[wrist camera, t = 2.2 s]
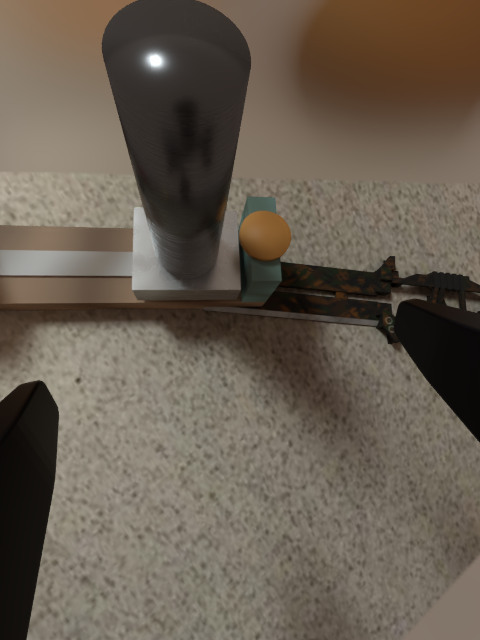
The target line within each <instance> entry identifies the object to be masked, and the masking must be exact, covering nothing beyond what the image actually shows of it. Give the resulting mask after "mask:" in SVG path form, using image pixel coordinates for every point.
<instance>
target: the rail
mask: <svg viewBox="0 0 480 640" xmlns="http://www.w3.org/2000/svg"><path fill="white" fill-rule="evenodd" d="M238 242H239V262H240V281H241V291H240V293H239V295H238V297H237V300H137V298H136V296H135V295H134V293H133V291H132V264H133V229H125V228H86V227H47V226H7V225H0V310H82V309H187V308H204V307H244V306H263V305H264V303H265V302H266V301H267V299H268V298H269V297H270V296H271V294H272V293H273V292H274V290H275V289H276V288H277V287H278V285H279V284H280V283H281V281H282V276H281V264H280V257H281V256H282V255H283V254H284V253H285V252H286V250H287V249H288V247H289V245H290V242H291V232H290V228H289V226H288V224H287V223H286V221H285V220H284V219H283V218H282V217H280V216H279V215H277V214H276V202H275V198H272V197H248V196H247V200H246V204H245V207H244V211H243V215H242V218H241V222H240V226H239V230H238Z"/></svg>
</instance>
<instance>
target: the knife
mask: <svg viewBox="0 0 480 640" xmlns="http://www.w3.org/2000/svg"><path fill="white" fill-rule="evenodd" d="M383 262H384V264H383V265H382V266H381V267H380V268H379V269H378V270H377V271H375V272H374V273H373V272H365V271H356V270H347V269H338V268H330V267H321V266H312V265H303V264H295V263H286V262H280V264H281V276H282V281H281V283H280V284H279V285H278V286H281V287H291V288H300V289H310V290H319V291H329V292H335V297H336V298H335V297H325V296H315V295H306V294H296V293H286V292H276V291H274V292H273V293H272V294H271V296H270V297H269V298H268V299H267V301H266V302H265V303H264V305H263V306H244V307H204V308H202V309H204V310H208V311H218V312H229V313H240V314H251V315H262V316H273V317H284V318H294V319H305V320H316V321H327V322H338V323H349V324H360V325H370V326H376V328H378V329H384V330H385V332H386V333H387V340H388V344H392V343H397V342H400V341H399V340H398V338H397V337H396V335H395V333H394V328H393V327H394V322H395V318H396V317H394V315H392V306H391V304H388V303H378V302H374V301H364V300H355V299H347V293H348V294H358V295H367V296H378V295H387V294H389V293H391V288H390V285H392V287H399V286H401V285H403V284H404V285H413V286H422V287H431V288H432V294H431V298H430V296H427V301H429V302H433V303H438V304H442V305H446V303H445V301H444V299H443V296H444V291H445V290H448V291H449V290H452V291H457V290H458V295H459V304H460V309H462V310H466V301H465V292H464V291H467V292H476V293H480V285H478V284H476V283H474V282H472V281H470V280H469V277H468V276H463V275H460V274H459V275H456V274H450V273H445V274H444V273H443V272H440V273H437V272H435V271H434V272H432V273H430V274H428V275H422V274H415V275H412V276H409V277H407V278H399V274H398V271H394V270H396V269H395V256H390V257H388V258H387V260H386V261H383ZM438 288H439V292H438ZM437 293H438V297H437ZM436 298H437V302H436ZM446 306H447V305H446ZM477 313H479V314H480V311H478V312H477Z"/></svg>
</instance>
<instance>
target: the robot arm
mask: <svg viewBox="0 0 480 640" xmlns="http://www.w3.org/2000/svg"><path fill="white" fill-rule="evenodd" d="M393 328H394V333H395V335H396V337H397V338H398V340H399V341H400V342H401V344H402V345H403V347H404V348H405V350H406V351H407V353H408V354H409V355H410V357H411V358H412V360H413V361H414V363H415V364H416V366H417V367H418V369H419V370H420V371H421V373H422V374H423V376H424V377H425V378H426V380H427V381H428V382H429V383H430V384H431V386H432V387H433V388H434V389H435V390H436V392H437V393H438V394H439V395H440V396H441V398H442V399H443V400H444V401H445V402H446V403H447V405H448V406H449V407H450V408H451V409H452V410H453V412H454V413H455V414H456V415H457V416H458V418H459V419H460V420H461V421H462V422H463V423H464V425H465V426H466V427H467V428H468V429H469V431H470V432H471V433H472V434H473V435H474V436H475V438H476V439H477V440H478V441H479V442H480V314H479V313H475V312H471V311H467V310H462V309H458V308H454V307H450V306H446V305H442V304H438V303H433V302H429V301H425V300H421V299H409V300H405V301H402V302H401V303H400V304H399V305H398V309H397V313H396V318H395V322H394V327H393ZM58 423H59V411H58V407H57V404H56V403H55V401H54V399H53V397H52V395H51V393H50V392H49V390H48V388H47V386H46V385H45V383H44V382H43V381H40V380H37V381H33V382H28V383H24V384H21V385H19V386H18V387H17V388H15V389H14V390H13V391H12V392H11V393H10V394H9V395H8V396H6V397H5V398H4V399H3V400H2V401H1V402H0V640H26V639H27V633H28V628H29V622H30V617H31V611H32V606H33V600H34V595H35V589H36V584H37V578H38V572H39V567H40V561H41V556H42V550H43V545H44V539H45V534H46V528H47V523H48V517H49V512H50V506H51V501H52V495H53V489H54V483H55V473H56V458H57V441H58Z"/></svg>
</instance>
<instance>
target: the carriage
mask: <svg viewBox="0 0 480 640" xmlns="http://www.w3.org/2000/svg"><path fill="white" fill-rule="evenodd" d="M102 53H103V58H104V62H105V66H106V70H107V74H108V77H109V81H110V85H111V89H112V92H113V96H114V100H115V104H116V107H117V111H118V115H119V118H120V122H121V126H122V130H123V134H124V137H125V141H126V144H127V148H128V152H129V156H130V160H131V164H132V167H133V171H134V175H135V179H136V182H137V186H138V190H139V194H140V197H141V201H142V205H143V208H138V207H134V229H133V264H132V291H133V293H134V295H135V296H136V298H137V300H237V297H238V295H239V293H240V291H241V281H240V262H239V242H238V222H237V211H226V206H227V200H228V195H229V189H230V183H231V177H232V172H233V165H234V160H235V154H236V149H237V143H238V137H239V132H240V126H241V120H242V114H243V109H244V103H245V97H246V91H247V85H248V80H249V73H250V69H251V56H250V51H249V48H248V44H247V42H246V40H245V38H244V36H243V35H242V33H241V32H240V30H239V29H238V28H237V27H236V25H235V24H234V23H233V22H232V21H231V20H230V19H229V18H227V17H226V16H225V15H224V14H222V13H221V12H219V11H218V10H216V9H214V8H213V7H211V6H209V5H207V4H204V3H202V2H199V1H196V0H138V1H135V2H133V3H131V4H129V5H127V6H125V7H124V8H122V9H121V10H120V11H119V12H118V13H117V14H115V15H114V16H113V18H112V19H111V20H110V21H109V23H108V25H107V27H106V29H105V32H104V34H103V40H102Z"/></svg>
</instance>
